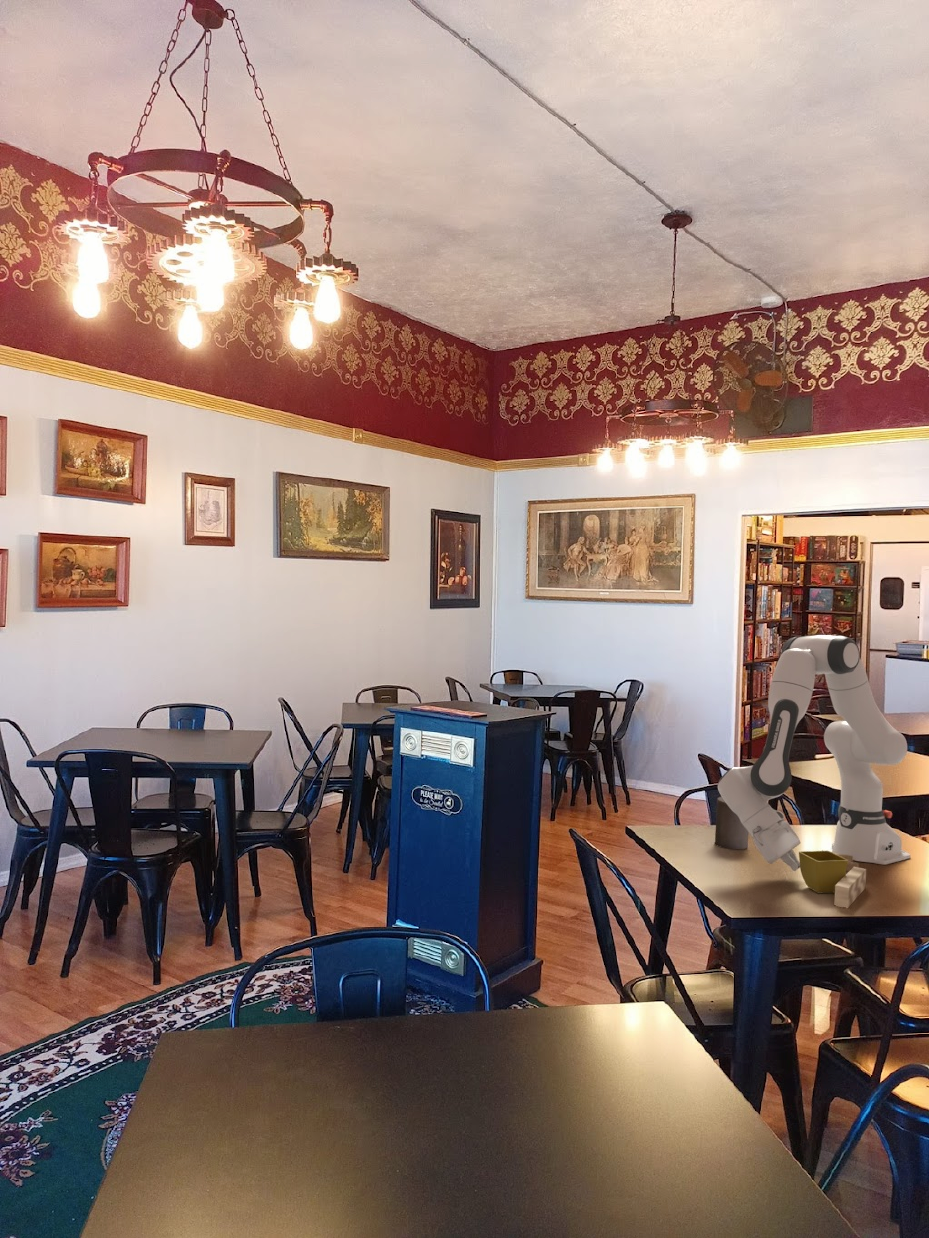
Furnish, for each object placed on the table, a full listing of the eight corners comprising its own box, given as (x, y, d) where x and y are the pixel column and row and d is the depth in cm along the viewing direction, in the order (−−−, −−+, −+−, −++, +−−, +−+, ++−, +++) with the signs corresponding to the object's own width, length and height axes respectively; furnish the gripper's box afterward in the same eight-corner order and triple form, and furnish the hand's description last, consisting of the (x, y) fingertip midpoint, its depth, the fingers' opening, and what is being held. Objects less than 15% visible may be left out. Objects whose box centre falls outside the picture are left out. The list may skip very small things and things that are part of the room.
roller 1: (820, 851, 253) (823, 849, 255) (820, 862, 253) (823, 859, 255) (850, 857, 248) (853, 854, 250) (850, 868, 248) (852, 865, 251)
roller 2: (824, 864, 246) (827, 855, 247) (826, 869, 247) (828, 860, 249) (855, 870, 241) (857, 861, 242) (857, 876, 243) (859, 866, 244)
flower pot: (815, 896, 222) (817, 860, 221) (796, 885, 230) (797, 850, 230) (847, 895, 223) (849, 860, 223) (826, 884, 232) (828, 850, 232)
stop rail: (852, 885, 232) (853, 866, 231) (865, 888, 230) (866, 869, 230) (834, 905, 215) (835, 885, 215) (847, 908, 214) (848, 887, 213)
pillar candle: (709, 844, 266) (711, 795, 265) (722, 838, 273) (725, 790, 272) (740, 852, 259) (743, 801, 259) (753, 845, 267) (756, 796, 266)
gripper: (759, 824, 226) (795, 871, 220) (783, 810, 242) (818, 854, 237) (740, 837, 228) (776, 884, 223) (765, 823, 245) (799, 866, 240)
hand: (798, 868), depth 230 cm, fingers closed, pressing on flower pot
